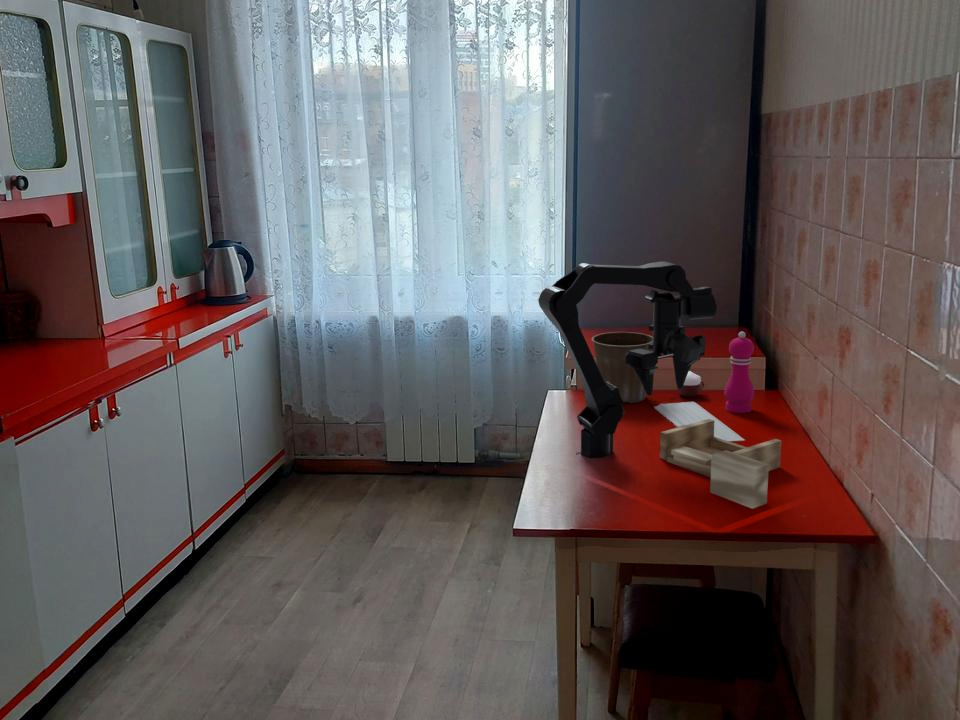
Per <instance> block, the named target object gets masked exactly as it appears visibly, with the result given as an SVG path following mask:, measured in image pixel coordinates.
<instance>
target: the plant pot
mask: <svg viewBox="0 0 960 720" xmlns="http://www.w3.org/2000/svg"><path fill="white" fill-rule="evenodd" d="M591 342H592V343H593V350H594V351H593V352H594V355H595V359H596V360H595V362H596V364H597V366H598V369H599V371H600V373H601V375H602V378H603V380H604V382H606V381H607V382H609V383H610V384H612V385H614V386H615V387H617V388H618V390H619V393H620V397H621V399H622V401H623V402H625V403H628V404H629V403H630V404H634V403H640V402H642V401H644V400H645V399H646V397H647V394H646V391H645V389H644V387H643V385H642V383H641V380H640V378H639V376H638V375H637V373H636V371H635V369H634V368H633V367H630V365H629V364H626V353H627V352H628V351H631V350H636V349H644V350H648V351H653V350H652V349H648V344H652V343H653V335H650V334H646V333H641V332H634V331H633V332H632V331H631V332H629V331H610V332H604V333H603V332H602V333H599V334H596V335H594V336H592V337H591Z"/></svg>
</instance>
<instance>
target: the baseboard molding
mask: <svg viewBox="0 0 960 720" xmlns="http://www.w3.org/2000/svg"><path fill="white" fill-rule="evenodd" d="M674 400H677V397H670V398H669V399H668V400H665V402H666V401H674ZM684 400H686V402H683V401H684ZM687 400H688V398H685V399H682V402H673V403H668V402H667V403H660V404H658V405H656V406H654V403H656V402H657V400H656V399H655V400H654V403H652V402H651V404H649V406H650V408H653V409H655V410H656V411H658V413H660V414H661V415H662V416H663V417H664V418H665V417H666V418H665V419H667V420H668V422H670V423H671V422H672V423H673V424H672V423H671V424H672V425H674V426H675V428H678V427H681V426H685V425H689V424H692V423H696V422H700V421H703V420H707V419H711V420H715V421H714V437H717V438H720V439H723V440H726V441H729V442H732V443H733V442H744V441H746V439H744V438H743V437H741V436H740V435H739V434H738V433H736V432H735V431H734V430H732V429H731V428H730V427H728V425H726V424H724V423H723V422H722V421H721V420H720V419H718V418H717V417H715V416H714V415H713V414H711V413H710V412H709V411H707V410H706V409H704V408H703V407H702V406H701V405H699V404H698V403H696V402H695V398H694V397H692V400H694V401H687Z"/></svg>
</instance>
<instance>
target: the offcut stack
mask: <svg viewBox="0 0 960 720" xmlns="http://www.w3.org/2000/svg"><path fill="white" fill-rule="evenodd" d="M671 454H672V456H669V457H667V460H666V462H667V463H670V464H672V465H676V466H678V467H680V468H684V469H686V470H689V471H691V472H694V473H696V474H697V473H698V474H701V475H702V476H706V477H708V478H711V459H712V455H711V454H708V453H705V452H701V451H698V450H695V449H692V448H689V447H685V446H682V447H679V448H676V449H673V450H672V451H671Z"/></svg>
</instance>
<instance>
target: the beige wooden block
mask: <svg viewBox="0 0 960 720" xmlns="http://www.w3.org/2000/svg"><path fill="white" fill-rule="evenodd" d="M769 472H770V471H769V464H766V463H763V462H760V461H757V460H754V459H751V458H748V457H745V456H742V455H739V454H736V453H733V452H730V451H727V450H725V451H722V452H718V453H715V454H712V459H711V477H710V484H709V485H710V486H709V487H710V488H709V493H711V494H713V495H716V496H718V497H721V498H724V499H726V500H728V501H731V502H735V503H737V504H739V505H741V506H744V507H747V508H748V509H749V508H750V509H752V510H753V509H756V508H759V507H760V506H764V505H767V503H768V489H769V488H768V485H769Z"/></svg>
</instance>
